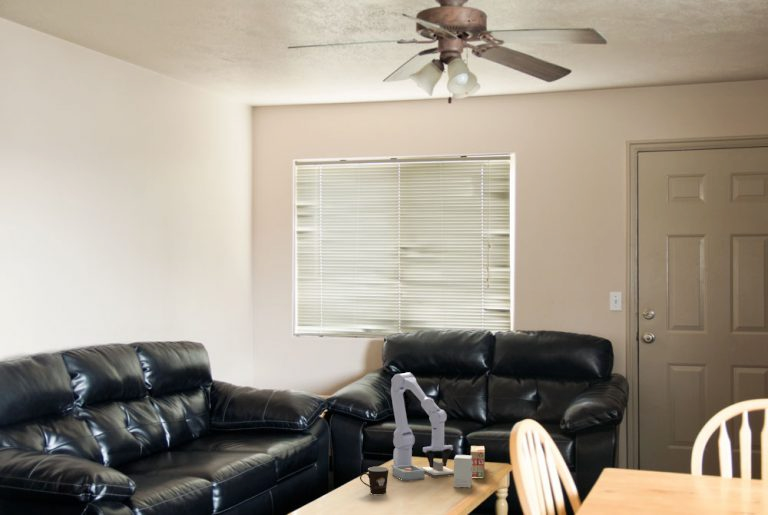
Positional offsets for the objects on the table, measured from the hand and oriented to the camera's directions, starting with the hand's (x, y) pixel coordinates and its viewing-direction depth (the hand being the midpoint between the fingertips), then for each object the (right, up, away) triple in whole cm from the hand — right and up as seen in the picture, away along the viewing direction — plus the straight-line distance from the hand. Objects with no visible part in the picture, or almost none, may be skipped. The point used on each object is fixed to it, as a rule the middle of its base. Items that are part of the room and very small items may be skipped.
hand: (437, 466), depth 409 cm
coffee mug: (-29, -3, -36) cm, 46 cm away
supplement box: (+10, -3, -23) cm, 25 cm away
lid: (0, -2, 0) cm, 2 cm away
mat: (0, -3, 0) cm, 3 cm away
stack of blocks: (+18, -3, +1) cm, 19 cm away
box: (-14, -3, -8) cm, 16 cm away
